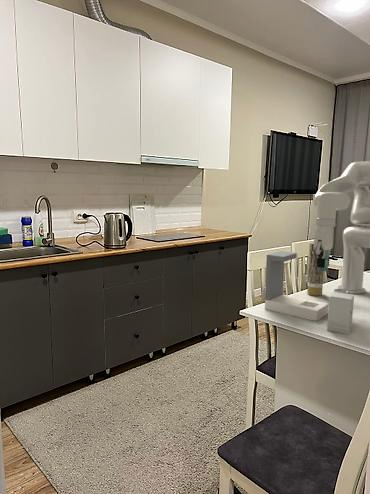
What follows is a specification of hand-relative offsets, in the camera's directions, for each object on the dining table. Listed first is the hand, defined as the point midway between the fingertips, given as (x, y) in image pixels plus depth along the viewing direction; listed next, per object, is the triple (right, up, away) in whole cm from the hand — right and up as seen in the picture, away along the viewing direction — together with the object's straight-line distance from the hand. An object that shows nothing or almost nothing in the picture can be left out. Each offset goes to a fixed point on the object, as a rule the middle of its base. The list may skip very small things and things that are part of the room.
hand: (322, 266), depth 156 cm
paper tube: (+4, -15, +22) cm, 26 cm away
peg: (0, -2, 0) cm, 2 cm away
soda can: (+1, -20, -15) cm, 25 cm away
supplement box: (-2, -22, -22) cm, 31 cm away
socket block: (-12, -18, -3) cm, 22 cm away
